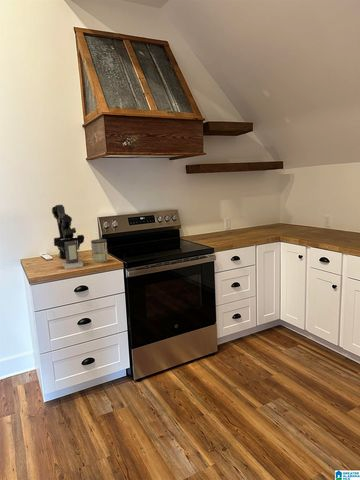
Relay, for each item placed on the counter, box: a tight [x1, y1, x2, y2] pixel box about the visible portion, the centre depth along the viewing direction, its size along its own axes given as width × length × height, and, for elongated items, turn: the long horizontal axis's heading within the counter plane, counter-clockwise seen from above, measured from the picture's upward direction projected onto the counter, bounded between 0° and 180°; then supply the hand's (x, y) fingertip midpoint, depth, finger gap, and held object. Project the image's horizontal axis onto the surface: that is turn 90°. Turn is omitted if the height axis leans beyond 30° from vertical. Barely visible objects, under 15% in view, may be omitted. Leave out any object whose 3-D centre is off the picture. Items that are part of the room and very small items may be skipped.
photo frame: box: [64, 241, 79, 264], centre depth 226 cm, size 4×6×14 cm, turn 127°
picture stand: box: [62, 258, 84, 270], centre depth 228 cm, size 10×11×3 cm
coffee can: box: [90, 238, 109, 263], centre depth 239 cm, size 10×10×14 cm
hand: (71, 250), depth 226 cm, fingers open, 9 cm apart
